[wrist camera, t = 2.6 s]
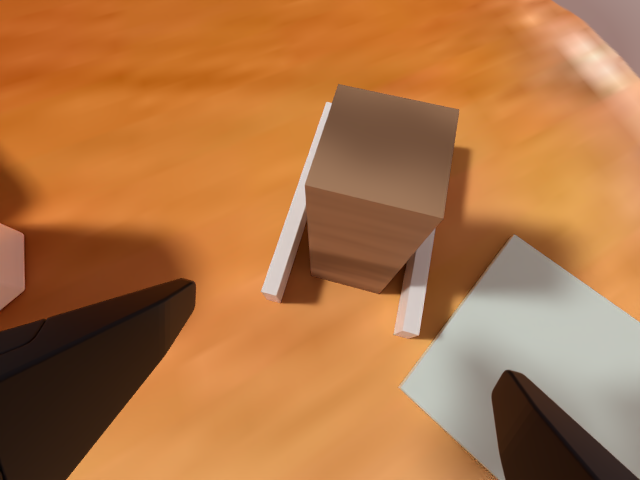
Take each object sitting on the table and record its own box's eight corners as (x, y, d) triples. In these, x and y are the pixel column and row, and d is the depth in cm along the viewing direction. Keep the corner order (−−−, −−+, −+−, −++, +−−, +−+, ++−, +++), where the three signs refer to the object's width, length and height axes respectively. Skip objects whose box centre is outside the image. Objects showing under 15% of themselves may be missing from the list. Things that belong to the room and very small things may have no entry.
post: (379, 293, 23) (443, 218, 11) (311, 275, 23) (304, 184, 12) (392, 231, 25) (459, 109, 13) (328, 215, 25) (338, 84, 13)
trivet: (607, 581, 17) (617, 588, 17) (398, 387, 21) (400, 387, 20) (699, 371, 21) (709, 371, 20) (509, 237, 24) (514, 234, 24)
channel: (408, 338, 22) (419, 335, 19) (267, 299, 23) (261, 291, 20) (439, 149, 27) (450, 128, 25) (325, 123, 28) (326, 101, 26)
